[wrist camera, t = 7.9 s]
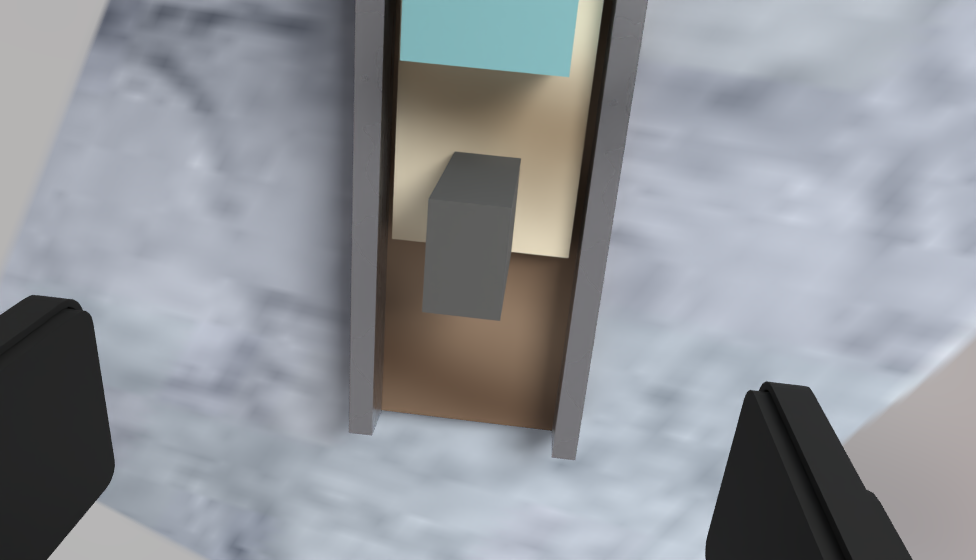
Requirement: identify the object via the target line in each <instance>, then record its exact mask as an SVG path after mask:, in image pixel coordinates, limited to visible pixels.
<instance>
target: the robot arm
mask: <svg viewBox="0 0 976 560" xmlns="http://www.w3.org/2000/svg"><path fill="white" fill-rule="evenodd" d="M114 467H115V460H114V453H113V447H112V441H111V434H110V428H109V421H108V415H107V408H106V402H105V396H104V389H103V383H102V376H101V370H100V364H99V357H98V351H97V344H96V338H95V332H94V325H93V320H92V317H91V316H90V314H89V313H88V312H86V311H83V310H82V307H81V306H80V304H79V303H78V302H77V301H75V300H73V299H64V298H56V297H48V296H39V295H31V296H29V297H27V298H25V299H23V300H22V301H20V302H19V303H17V304H16V305H14V306H13V307H11V308H10V309H8V310H7V311H5V312H4V313H2V314H1V315H0V560H47V559H48V558H49V556H50V555H51V554H52V553H53V552H54V550H55V549H56V548H57V547H58V546H59V544H60V543H61V542H62V541H63V539H64V538H65V537H66V536H67V535H68V533H69V532H70V531H71V530H72V529H73V528H74V526H75V525H76V524H77V523H78V522H79V520H80V519H81V518H82V517H83V516H84V514H85V513H86V512H87V511H88V510H89V508H90V507H91V506H92V505H93V504H94V502H95V501H96V500H97V499H98V498H99V496H100V495H101V494H102V493H103V492H104V490H105V489H106V488H107V486H108V485H109V483H110V481H111V479H112V476H113V473H114ZM705 556H706V560H912V558H911V556H910V554H909V553H908V551H907V549H906V547H905V545H904V544H903V542H902V540H901V538H900V537H899V535H898V533H897V532H896V530H895V528H894V526H893V524H892V522H891V521H890V519H889V517H888V516H887V513H886V512H885V510H884V508H883V506H882V505H881V503H880V501H879V500H878V499H877V497H876V496H875V495H874V494H873V493H872V492H870V491H868V490H866V488H865V486H864V485H863V483H862V481H861V479H860V477H859V476H858V474H857V472H856V470H855V468H854V467H853V465H852V463H851V461H850V459H849V457H848V455H847V454H846V452H845V450H844V448H843V446H842V445H841V443H840V441H839V439H838V437H837V435H836V434H835V432H834V430H833V428H832V426H831V425H830V423H829V421H828V419H827V417H826V415H825V414H824V412H823V410H822V408H821V406H820V405H819V403H818V401H817V399H816V397H815V395H814V394H813V392H812V390H811V389H810V388H809V387H806V386H800V385H791V384H783V383H774V382H765V383H763V384H762V386H761V387H760V389H759V391H753V390H749V391H748V392H747V394H746V395H745V398H744V401H743V405H742V409H741V412H740V416H739V420H738V424H737V427H736V431H735V435H734V439H733V442H732V446H731V450H730V453H729V457H728V461H727V465H726V468H725V472H724V476H723V480H722V483H721V487H720V491H719V494H718V498H717V502H716V506H715V509H714V513H713V517H712V521H711V524H710V528H709V532H708V535H707V540H706V551H705Z"/></svg>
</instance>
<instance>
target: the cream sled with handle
mask: <svg viewBox="0 0 976 560" xmlns="http://www.w3.org/2000/svg"><path fill="white" fill-rule="evenodd" d="M603 2H604V0H579V2H578V10H577V18H576V27H575V35H574V43H573V51H572V59H571V67H570V75H569V77H562V76H552V75H542V74H531V73H521V72H511V71H501V70H491V69H481V68H471V67H461V66H451V65H441V64H431V63H421V62H411V61H401V60H400V47H401V21H402V0H401V11H400V38H399V64H398V91H397V118H396V145H395V172H394V198H393V225H392V239H399V240H408V241H417V242H426V250H425V267H424V285H423V303H422V312H426V313H434V314H443V315H452V316H461V317H469V318H478V319H487V320H495V321H500V319H501V313H502V306H503V300H504V294H505V288H506V282H507V276H508V269H509V263H510V257H511V252H517V253H526V254H535V255H544V256H553V257H562V258H569V251H570V244H571V236H572V229H573V222H574V214H575V207H576V200H577V192H578V185H579V178H580V171H581V163H582V156H583V149H584V141H585V134H586V127H587V119H588V112H589V105H590V97H591V90H592V83H593V75H594V68H595V61H596V54H597V46H598V39H599V32H600V24H601V17H602V10H603Z"/></svg>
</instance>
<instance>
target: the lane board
mask: <svg viewBox="0 0 976 560" xmlns="http://www.w3.org/2000/svg"><path fill="white" fill-rule="evenodd" d="M647 3H648V0H604V2H603V10H602V17H601V24H600V32H599V39H598V46H597V54H596V61H595V68H594V75H593V83H592V90H591V97H590V105H589V112H588V119H587V127H586V134H585V141H584V149H583V156H582V163H581V171H580V178H579V185H578V192H577V200H576V207H575V214H574V222H573V229H572V236H571V244H570V251H569V258H562V257H553V256H544V255H535V254H526V253H517V252H511V257H510V263H509V269H508V276H507V282H506V288H505V294H504V300H503V306H502V313H501V319H500V321H495V320H487V319H478V318H469V317H461V316H452V315H443V314H434V313H426V312H422V303H423V285H424V267H425V250H426V242H417V241H408V240H399V239H392V225H393V198H394V172H395V145H396V118H397V91H398V64H399V38H400V11H401V0H355V64H354V131H353V197H352V264H351V330H350V396H349V433H357V434H365V435H372V434H373V431H374V429H375V426H376V424H377V421H378V419H379V416H380V414H381V411H382V410H385V411H394V412H402V413H410V414H418V415H427V416H435V417H443V418H451V419H460V420H468V421H476V422H485V423H493V424H501V425H509V426H518V427H526V428H534V429H542V430H551V431H552V458H560V459H569V460H575V457H576V451H577V445H578V438H579V432H580V426H581V420H582V413H583V407H584V401H585V394H586V388H587V382H588V375H589V369H590V363H591V356H592V350H593V344H594V337H595V331H596V325H597V318H598V312H599V306H600V300H601V293H602V287H603V281H604V274H605V268H606V262H607V255H608V249H609V243H610V236H611V230H612V224H613V217H614V211H615V205H616V199H617V192H618V186H619V180H620V173H621V167H622V161H623V154H624V148H625V142H626V135H627V129H628V123H629V116H630V110H631V104H632V98H633V91H634V85H635V79H636V72H637V66H638V60H639V53H640V47H641V41H642V34H643V28H644V22H645V15H646V9H647Z"/></svg>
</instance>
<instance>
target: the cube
mask: <svg viewBox="0 0 976 560" xmlns="http://www.w3.org/2000/svg"><path fill="white" fill-rule="evenodd" d="M578 2H579V0H402V21H401V47H400V60H401V61H411V62H421V63H431V64H441V65H451V66H461V67H471V68H481V69H491V70H501V71H511V72H521V73H531V74H542V75H552V76H562V77H569V75H570V67H571V59H572V51H573V43H574V35H575V27H576V18H577V10H578Z"/></svg>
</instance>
